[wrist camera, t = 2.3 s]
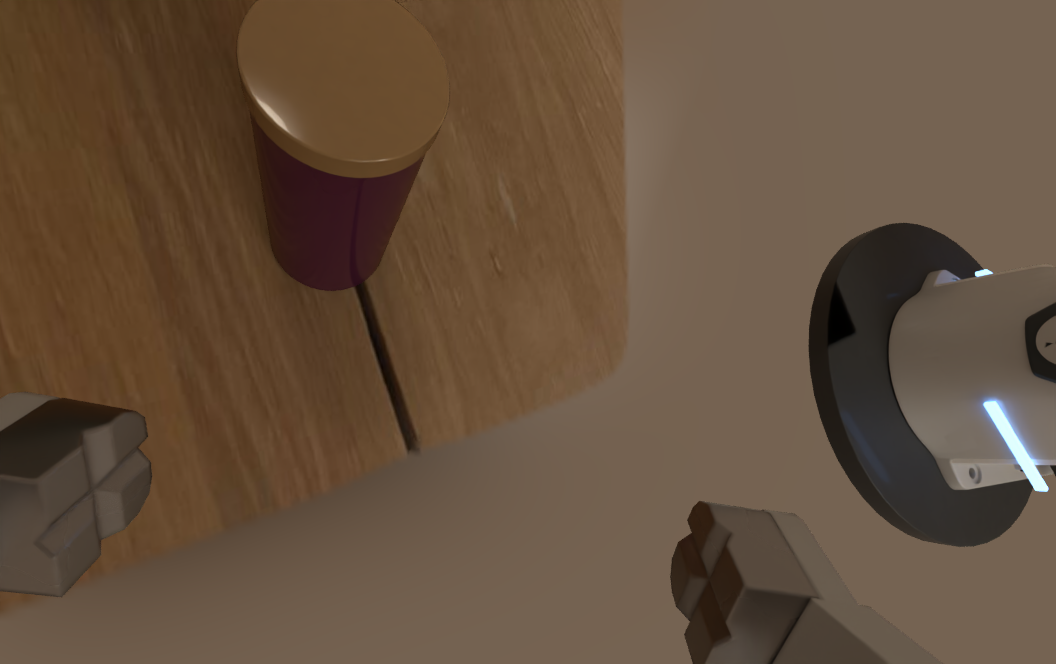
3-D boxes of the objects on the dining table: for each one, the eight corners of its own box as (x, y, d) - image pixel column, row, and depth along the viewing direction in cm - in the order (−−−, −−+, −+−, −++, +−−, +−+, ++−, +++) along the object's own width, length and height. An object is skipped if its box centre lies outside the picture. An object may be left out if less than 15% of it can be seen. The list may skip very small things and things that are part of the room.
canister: (394, 204, 28) (463, 24, 16) (375, 303, 26) (435, 187, 14) (281, 173, 26) (264, -58, 14) (255, 278, 24) (210, 121, 13)
